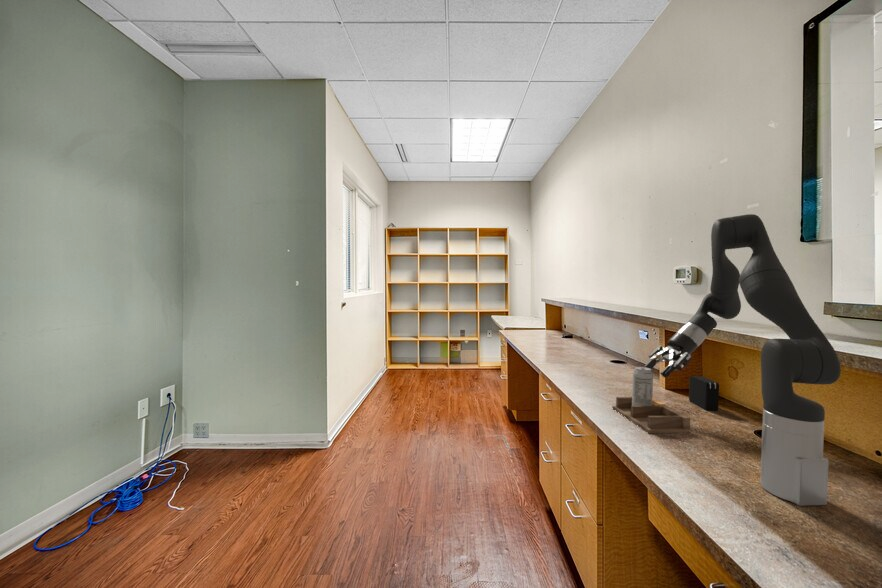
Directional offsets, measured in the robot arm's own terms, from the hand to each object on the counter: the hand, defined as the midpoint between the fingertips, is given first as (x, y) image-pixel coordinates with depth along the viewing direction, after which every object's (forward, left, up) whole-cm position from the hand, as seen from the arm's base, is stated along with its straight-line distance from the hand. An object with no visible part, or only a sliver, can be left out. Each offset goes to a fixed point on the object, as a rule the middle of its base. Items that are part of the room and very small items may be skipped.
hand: (654, 372), depth 119 cm
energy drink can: (0, +4, -14) cm, 14 cm away
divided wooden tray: (-4, +5, -15) cm, 16 cm away
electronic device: (+8, -24, -15) cm, 29 cm away
